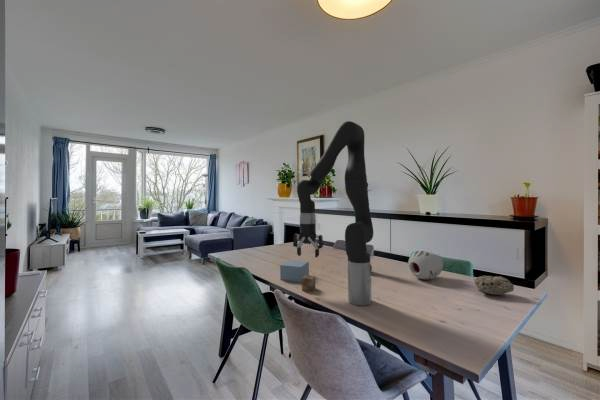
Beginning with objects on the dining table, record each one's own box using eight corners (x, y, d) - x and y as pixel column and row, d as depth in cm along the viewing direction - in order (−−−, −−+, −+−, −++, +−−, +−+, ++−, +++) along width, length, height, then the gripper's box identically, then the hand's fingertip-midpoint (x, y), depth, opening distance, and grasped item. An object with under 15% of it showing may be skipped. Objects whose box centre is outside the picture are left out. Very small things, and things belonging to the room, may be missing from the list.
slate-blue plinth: (309, 275, 152) (308, 261, 152) (301, 282, 141) (301, 267, 140) (289, 273, 156) (289, 259, 156) (280, 280, 145) (280, 265, 145)
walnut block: (315, 288, 131) (315, 275, 131) (311, 291, 126) (311, 279, 126) (305, 287, 133) (305, 275, 133) (301, 290, 128) (301, 278, 128)
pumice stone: (511, 293, 121) (511, 275, 121) (515, 302, 111) (515, 283, 110) (473, 287, 128) (473, 271, 128) (474, 296, 118) (474, 278, 117)
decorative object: (453, 280, 139) (453, 251, 139) (425, 285, 132) (425, 254, 132) (429, 272, 154) (428, 245, 153) (402, 276, 147) (402, 248, 146)
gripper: (290, 222, 128) (291, 256, 128) (319, 223, 123) (320, 259, 123) (296, 221, 135) (297, 253, 135) (324, 221, 130) (324, 255, 130)
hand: (308, 256), depth 129 cm, fingers open, 8 cm apart
